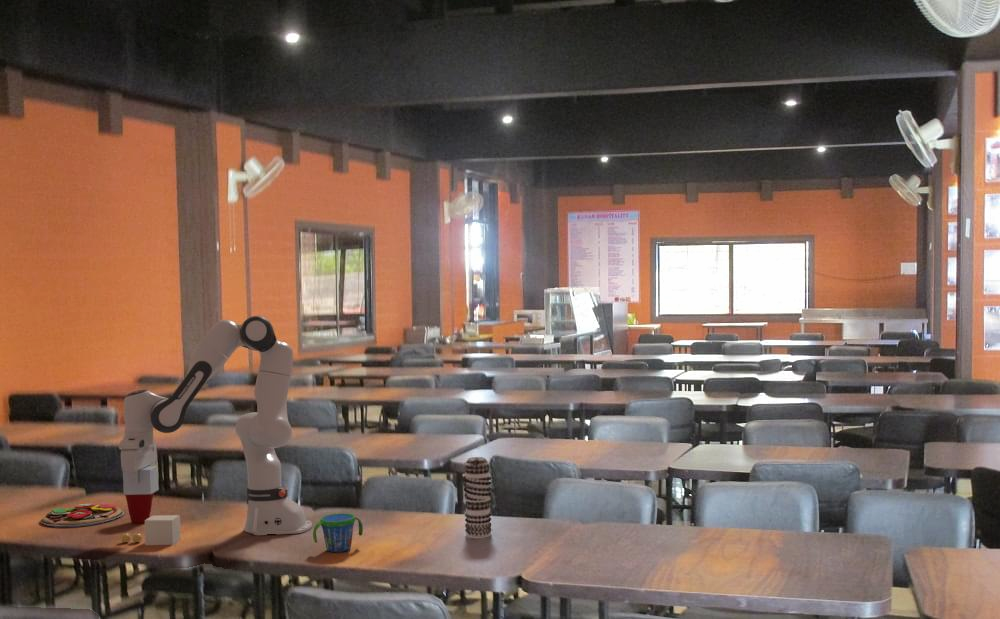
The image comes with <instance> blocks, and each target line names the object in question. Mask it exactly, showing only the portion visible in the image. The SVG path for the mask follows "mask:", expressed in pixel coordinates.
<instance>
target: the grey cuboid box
mask: <svg viewBox="0 0 1000 619" xmlns="http://www.w3.org/2000/svg"><path fill="white" fill-rule="evenodd" d="M144 537H145V538H144V539H145V540H144V541H145V542H144V543H145V544H144V545H145V546H174V545H175V544H177V543H178V542H180V541H181V539H182V537H181V515H174V514H173V515H170V514H169V515H168V514H167V515H161V514H159V515H155V514H154V515H152V516H151V515H150V518H148V519H146V520H145V523H144ZM179 540H180V541H179Z"/></svg>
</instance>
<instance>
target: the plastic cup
mask: <svg viewBox="0 0 1000 619" xmlns="http://www.w3.org/2000/svg"><path fill="white" fill-rule="evenodd" d="M122 491H123V492H124V489H122ZM154 494H155V492H154V493H152V494H137V495H124V496H125V499H126V503H127V508H128V513H129V518H130V522H131V524H132V523H134V525H141V523H143V524H145V520H146V519H148V518H150V517H151V511H152V504H153V498H154Z"/></svg>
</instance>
